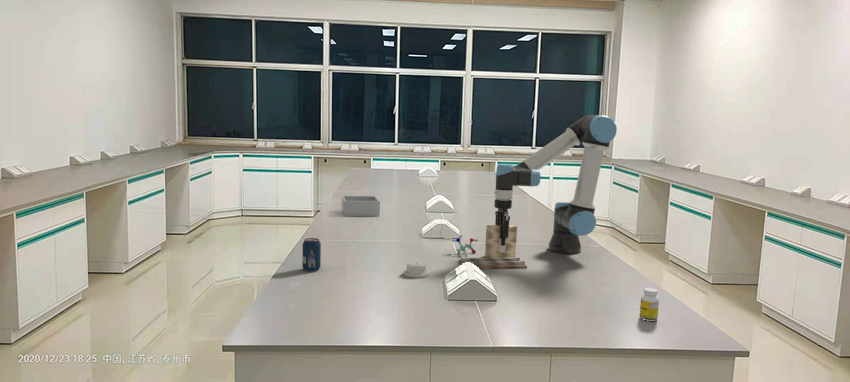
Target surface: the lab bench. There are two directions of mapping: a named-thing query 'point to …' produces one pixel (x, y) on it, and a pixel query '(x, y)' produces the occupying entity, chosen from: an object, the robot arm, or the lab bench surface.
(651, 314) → the supplement bottle
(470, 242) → the molecular model
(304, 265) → the soda can
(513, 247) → the door panel
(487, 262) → the track board
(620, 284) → the lab bench surface
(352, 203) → the storage crate
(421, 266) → the mechanical component
